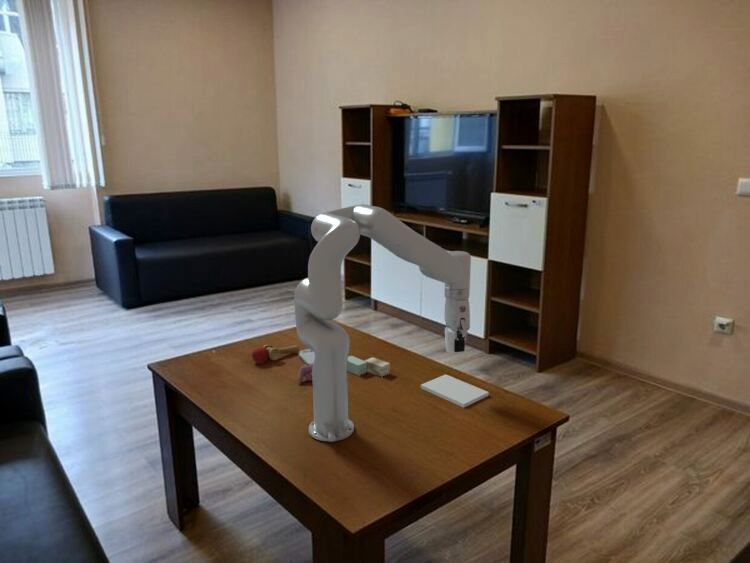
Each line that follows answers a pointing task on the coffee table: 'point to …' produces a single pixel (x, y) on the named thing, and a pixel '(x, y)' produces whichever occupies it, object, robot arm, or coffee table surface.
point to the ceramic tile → (454, 390)
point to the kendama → (271, 353)
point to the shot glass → (451, 339)
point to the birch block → (378, 367)
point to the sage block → (356, 365)
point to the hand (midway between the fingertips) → (455, 346)
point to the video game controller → (305, 372)
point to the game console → (307, 356)
